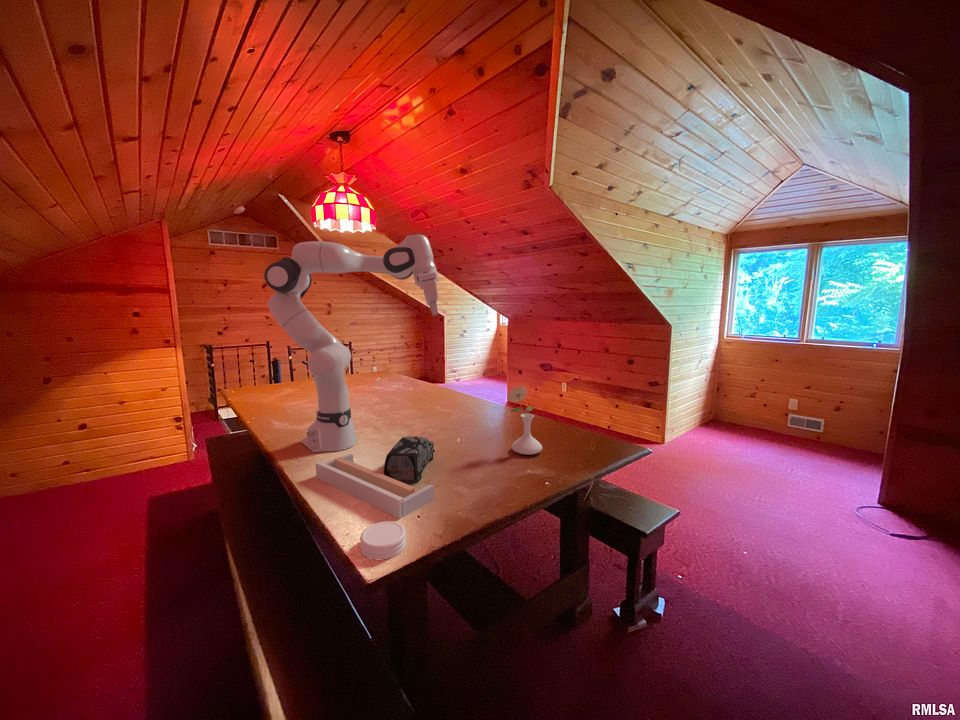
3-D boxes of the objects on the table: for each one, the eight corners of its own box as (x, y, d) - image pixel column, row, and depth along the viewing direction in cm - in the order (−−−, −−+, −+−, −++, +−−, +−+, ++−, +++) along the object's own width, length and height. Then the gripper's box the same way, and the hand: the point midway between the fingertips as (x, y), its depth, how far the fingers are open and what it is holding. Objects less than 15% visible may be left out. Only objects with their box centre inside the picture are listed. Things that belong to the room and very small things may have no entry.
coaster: (351, 548, 87) (351, 533, 86) (388, 529, 94) (388, 515, 94) (377, 568, 80) (376, 552, 80) (415, 545, 88) (414, 531, 87)
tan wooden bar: (335, 473, 124) (334, 459, 124) (340, 471, 126) (339, 457, 125) (409, 507, 104) (409, 490, 103) (415, 504, 105) (414, 487, 104)
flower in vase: (539, 445, 149) (540, 382, 145) (545, 457, 137) (546, 388, 134) (505, 446, 148) (506, 382, 145) (508, 457, 137) (509, 389, 133)
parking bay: (316, 477, 121) (315, 462, 121) (350, 464, 131) (350, 450, 130) (400, 518, 98) (399, 500, 97) (434, 499, 108) (433, 482, 107)
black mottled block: (435, 456, 139) (434, 429, 138) (416, 488, 115) (416, 456, 113) (406, 455, 140) (406, 428, 139) (382, 486, 116) (381, 455, 114)
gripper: (418, 284, 152) (426, 318, 154) (417, 275, 132) (427, 315, 134) (433, 280, 153) (442, 314, 155) (435, 271, 133) (445, 311, 134)
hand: (435, 314), depth 144 cm, fingers open, 8 cm apart
